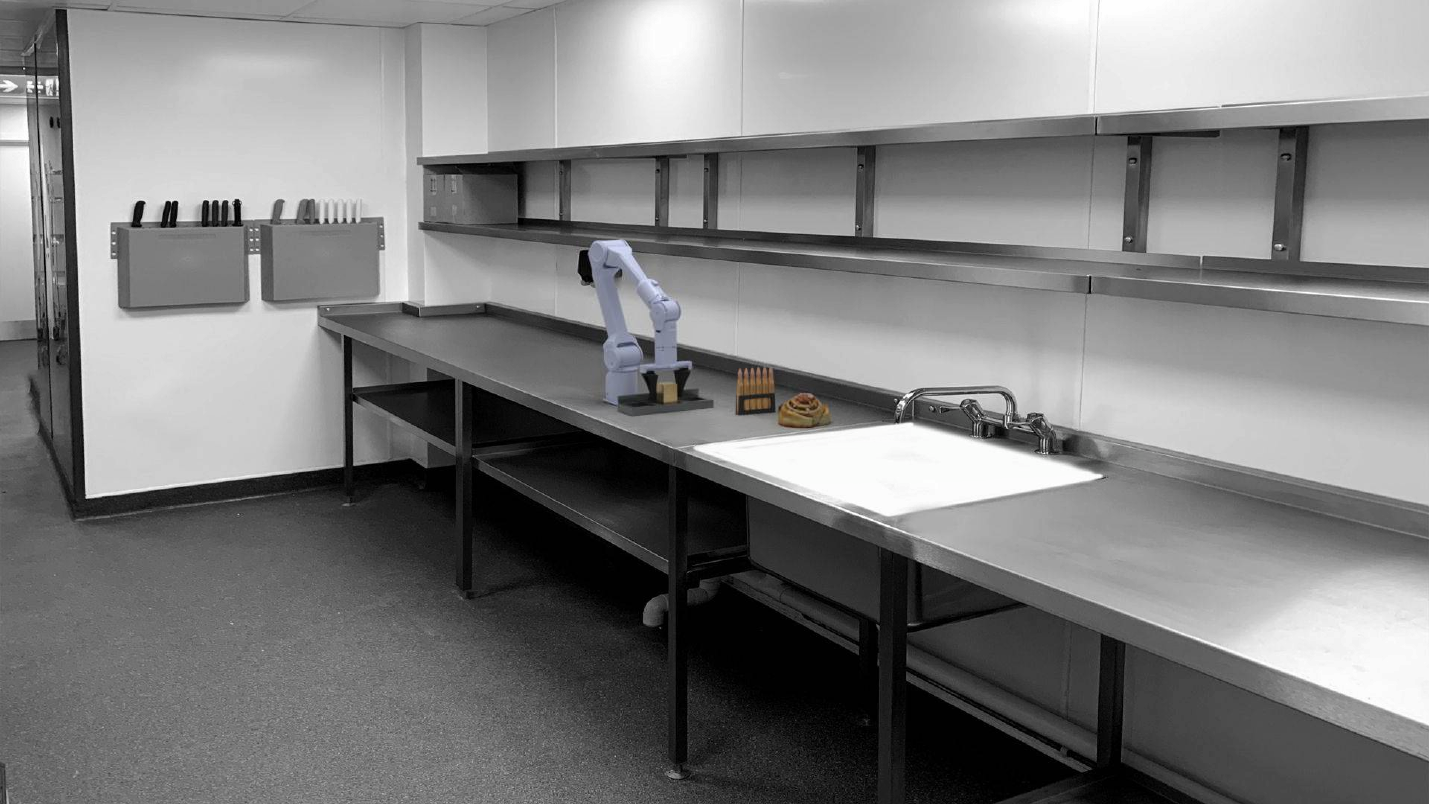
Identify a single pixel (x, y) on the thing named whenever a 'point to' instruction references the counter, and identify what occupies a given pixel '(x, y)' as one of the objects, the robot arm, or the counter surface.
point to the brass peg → (666, 392)
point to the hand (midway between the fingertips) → (666, 398)
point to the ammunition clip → (755, 393)
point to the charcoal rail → (646, 405)
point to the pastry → (803, 412)
